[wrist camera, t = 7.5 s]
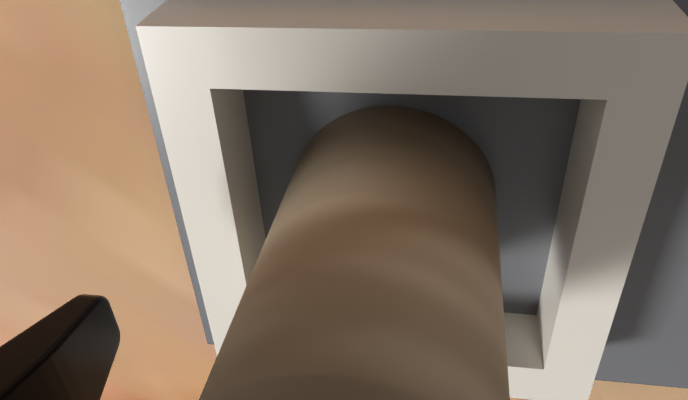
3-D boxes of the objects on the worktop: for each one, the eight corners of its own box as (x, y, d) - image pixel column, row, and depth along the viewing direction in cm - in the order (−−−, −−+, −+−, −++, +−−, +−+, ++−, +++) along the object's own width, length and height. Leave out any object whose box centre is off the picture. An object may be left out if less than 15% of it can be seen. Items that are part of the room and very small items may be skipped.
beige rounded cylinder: (506, 110, 11) (540, 397, 6) (485, 277, 13) (497, 580, 8) (284, 102, 11) (152, 356, 6) (303, 263, 14) (215, 537, 9)
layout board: (1222, -93, 8) (1672, -6, 5) (876, 378, 14) (992, 548, 11) (124, -77, 11) (-11, -12, 8) (217, 321, 16) (162, 448, 13)
